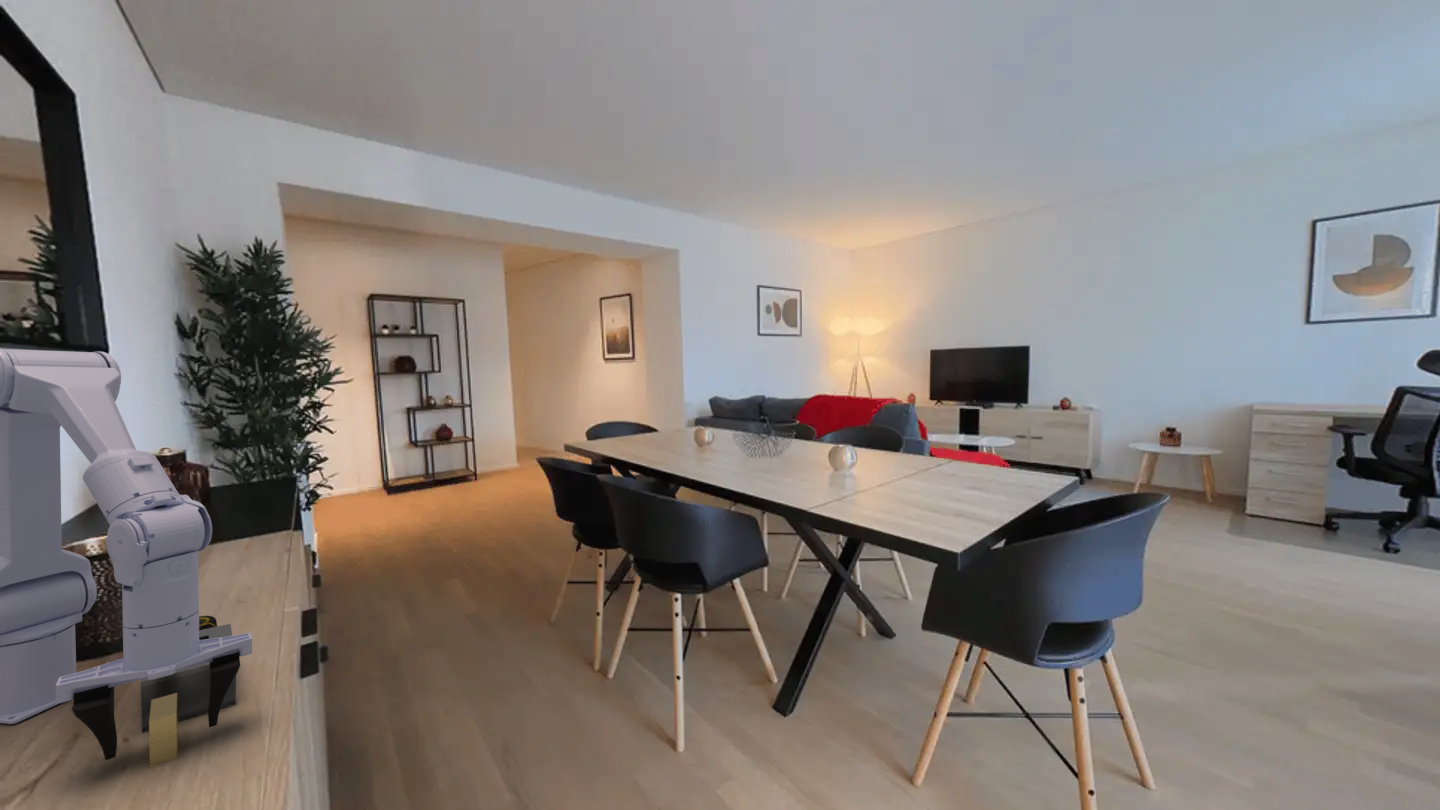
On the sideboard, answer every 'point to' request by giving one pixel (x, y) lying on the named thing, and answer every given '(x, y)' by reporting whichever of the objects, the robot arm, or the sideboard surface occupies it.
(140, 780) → the sideboard surface
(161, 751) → the wooden rectangular block
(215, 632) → the coin box
